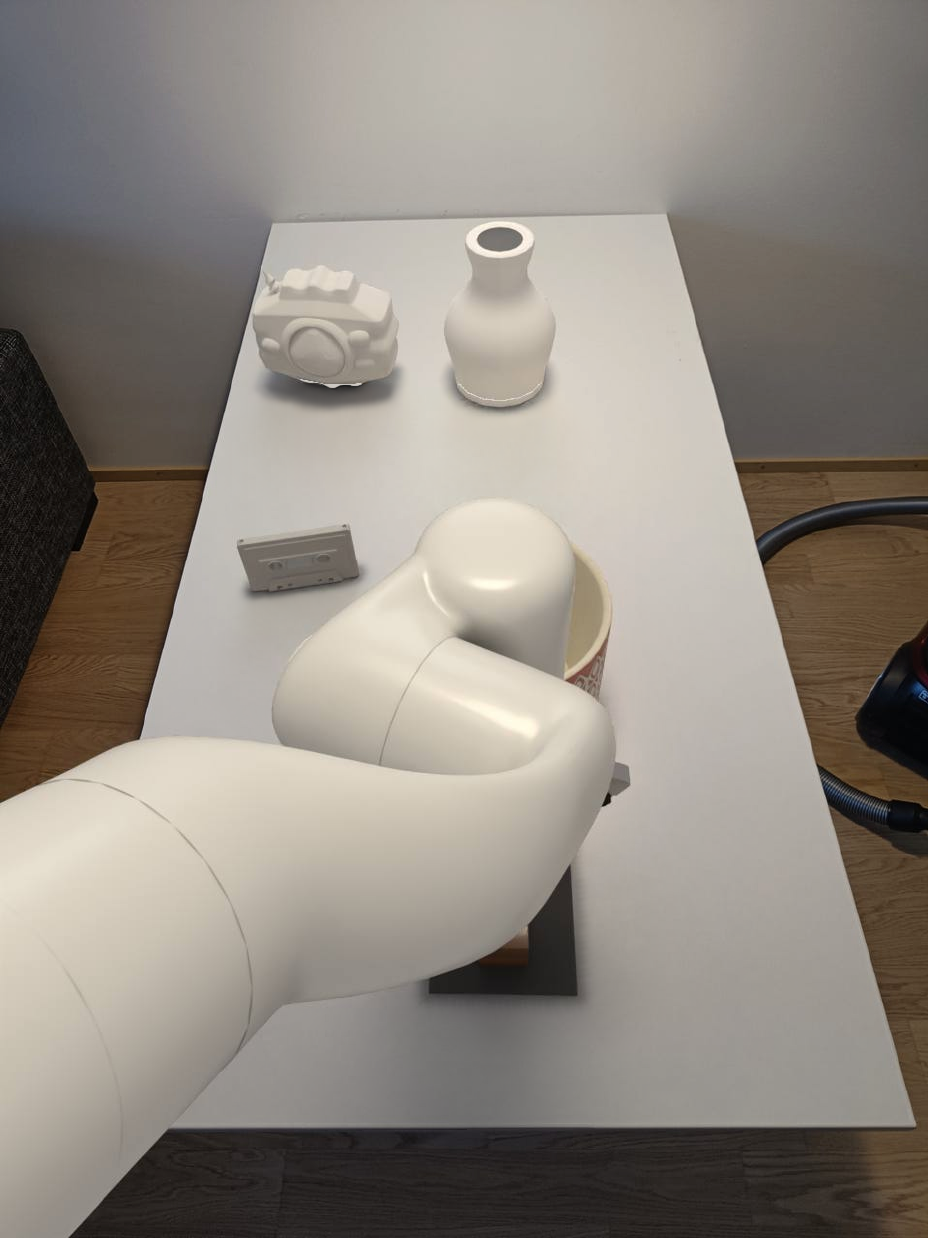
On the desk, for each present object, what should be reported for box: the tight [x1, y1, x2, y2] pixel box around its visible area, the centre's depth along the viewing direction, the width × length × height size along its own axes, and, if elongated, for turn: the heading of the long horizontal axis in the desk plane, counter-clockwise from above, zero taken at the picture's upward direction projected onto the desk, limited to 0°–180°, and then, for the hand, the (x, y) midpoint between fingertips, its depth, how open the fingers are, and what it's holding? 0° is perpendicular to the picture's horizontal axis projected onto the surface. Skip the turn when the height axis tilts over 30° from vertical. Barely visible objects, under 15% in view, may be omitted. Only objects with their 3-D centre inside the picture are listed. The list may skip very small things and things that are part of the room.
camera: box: [252, 265, 400, 384], centre depth 113 cm, size 11×18×16 cm, turn 82°
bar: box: [478, 924, 529, 967], centre depth 74 cm, size 12×4×5 cm, turn 179°
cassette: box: [236, 523, 360, 592], centre depth 95 cm, size 12×2×8 cm, turn 100°
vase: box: [443, 220, 557, 408], centre depth 111 cm, size 14×14×20 cm
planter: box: [563, 539, 613, 702], centre depth 83 cm, size 19×19×15 cm
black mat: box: [428, 863, 578, 996], centre depth 76 cm, size 16×12×1 cm
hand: (491, 830), depth 62 cm, fingers open, 9 cm apart
